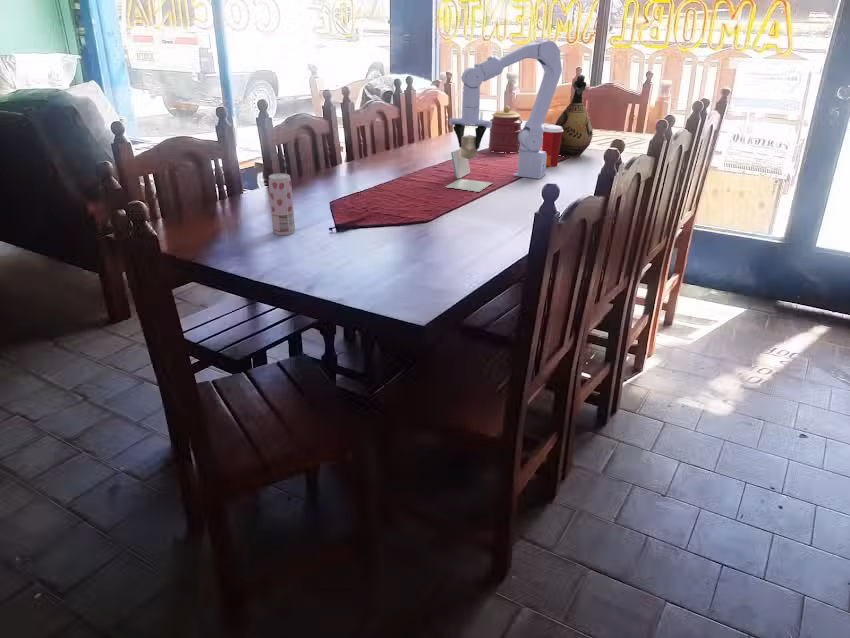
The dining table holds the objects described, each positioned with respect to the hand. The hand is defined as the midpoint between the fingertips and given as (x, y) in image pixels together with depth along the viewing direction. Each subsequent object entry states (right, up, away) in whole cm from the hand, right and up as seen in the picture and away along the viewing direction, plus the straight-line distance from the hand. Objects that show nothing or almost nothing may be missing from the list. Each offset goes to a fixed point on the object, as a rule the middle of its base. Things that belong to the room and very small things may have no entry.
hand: (469, 147), depth 227 cm
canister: (+17, +10, +44) cm, 48 cm away
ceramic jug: (+43, +7, +38) cm, 57 cm away
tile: (-2, -8, +5) cm, 10 cm away
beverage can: (-52, -36, -52) cm, 82 cm away
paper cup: (+31, -1, +21) cm, 38 cm away
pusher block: (0, -3, +1) cm, 3 cm away
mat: (-1, -15, -7) cm, 17 cm away
